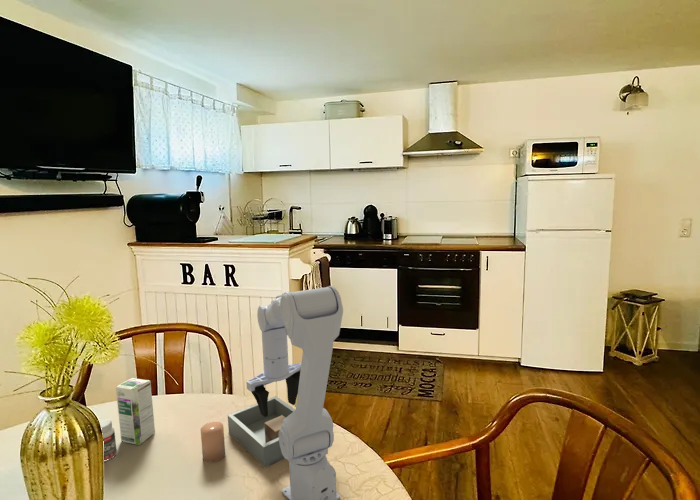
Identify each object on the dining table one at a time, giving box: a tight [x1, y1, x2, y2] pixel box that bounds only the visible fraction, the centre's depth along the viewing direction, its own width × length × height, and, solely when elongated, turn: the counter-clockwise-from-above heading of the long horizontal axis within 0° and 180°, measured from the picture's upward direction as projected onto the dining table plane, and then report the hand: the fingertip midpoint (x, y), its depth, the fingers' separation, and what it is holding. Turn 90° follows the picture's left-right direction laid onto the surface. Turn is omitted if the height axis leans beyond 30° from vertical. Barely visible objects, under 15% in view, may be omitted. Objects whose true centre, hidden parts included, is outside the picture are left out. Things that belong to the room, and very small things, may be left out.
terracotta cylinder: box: [200, 421, 226, 463], centre depth 99 cm, size 5×5×7 cm
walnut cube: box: [264, 415, 286, 443], centre depth 102 cm, size 5×5×5 cm
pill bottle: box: [98, 418, 118, 460], centre depth 99 cm, size 5×5×8 cm
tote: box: [227, 395, 296, 468], centre depth 105 cm, size 18×14×5 cm
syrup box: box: [115, 377, 156, 446], centre depth 106 cm, size 6×6×14 cm
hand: (278, 409), depth 101 cm, fingers open, 7 cm apart
